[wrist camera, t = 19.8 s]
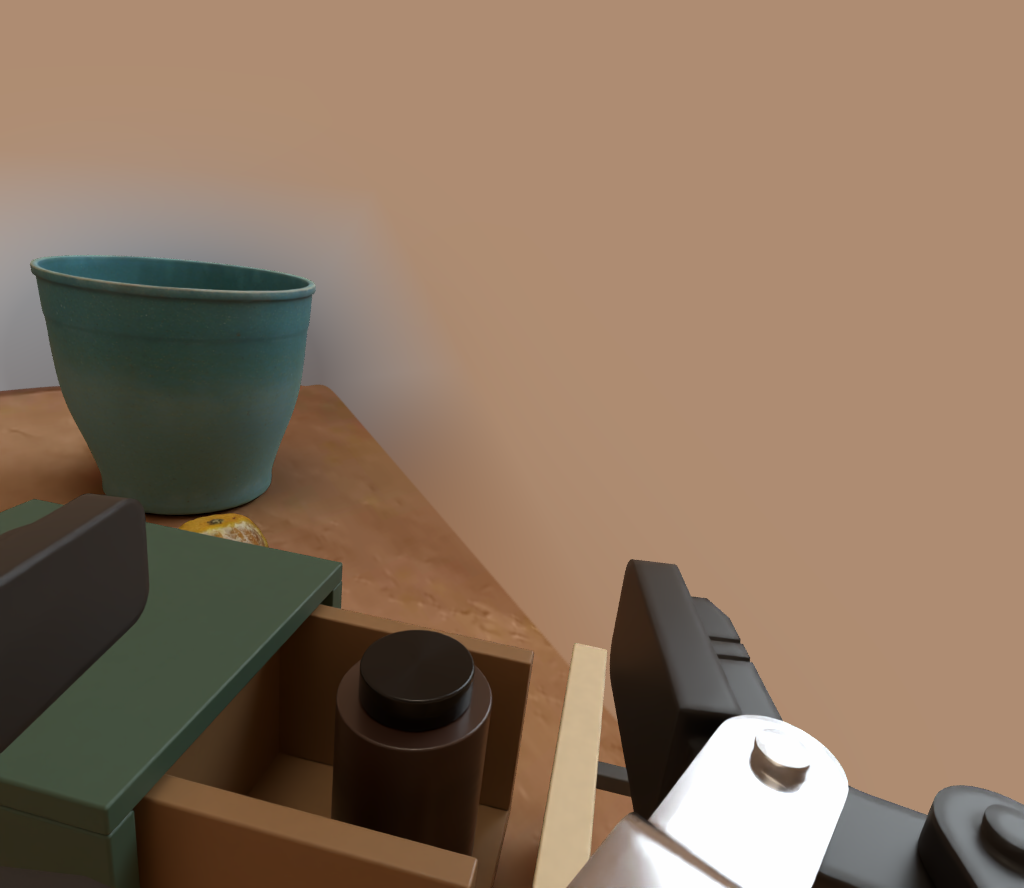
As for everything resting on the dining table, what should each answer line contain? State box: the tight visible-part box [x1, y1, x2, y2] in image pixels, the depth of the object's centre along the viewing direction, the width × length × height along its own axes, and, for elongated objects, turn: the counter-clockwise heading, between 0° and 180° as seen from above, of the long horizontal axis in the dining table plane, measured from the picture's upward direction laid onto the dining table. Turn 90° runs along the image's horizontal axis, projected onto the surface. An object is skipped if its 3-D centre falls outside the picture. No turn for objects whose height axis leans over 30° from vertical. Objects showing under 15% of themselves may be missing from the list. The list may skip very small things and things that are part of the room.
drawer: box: [132, 604, 631, 888], centre depth 20 cm, size 17×10×8 cm, turn 79°
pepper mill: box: [331, 630, 492, 857], centre depth 19 cm, size 4×4×8 cm
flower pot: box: [30, 255, 315, 515], centre depth 49 cm, size 18×18×17 cm
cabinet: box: [0, 499, 342, 888], centre depth 22 cm, size 14×12×10 cm
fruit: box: [178, 513, 268, 547], centre depth 39 cm, size 8×8×4 cm
